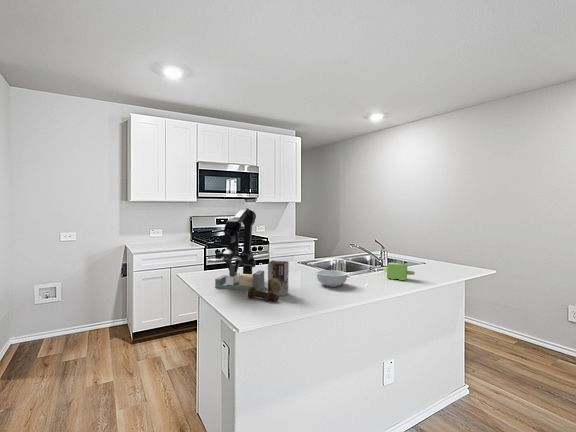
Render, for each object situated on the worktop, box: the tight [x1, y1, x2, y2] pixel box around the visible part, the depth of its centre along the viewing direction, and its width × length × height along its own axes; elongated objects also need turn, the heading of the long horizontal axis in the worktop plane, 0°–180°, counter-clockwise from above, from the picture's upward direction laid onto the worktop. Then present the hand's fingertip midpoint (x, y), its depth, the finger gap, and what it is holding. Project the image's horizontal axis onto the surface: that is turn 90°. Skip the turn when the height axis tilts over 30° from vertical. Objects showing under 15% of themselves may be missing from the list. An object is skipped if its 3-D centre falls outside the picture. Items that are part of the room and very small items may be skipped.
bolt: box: [247, 287, 280, 303], centre depth 153 cm, size 6×5×15 cm
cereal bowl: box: [316, 269, 348, 288], centre depth 182 cm, size 17×17×7 cm
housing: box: [239, 273, 253, 287], centre depth 173 cm, size 6×8×5 cm
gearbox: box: [382, 262, 416, 281], centre depth 199 cm, size 18×10×10 cm, turn 62°
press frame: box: [214, 270, 265, 291], centre depth 174 cm, size 10×24×8 cm, turn 76°
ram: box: [226, 263, 241, 285], centre depth 175 cm, size 9×4×10 cm, turn 166°
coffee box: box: [267, 260, 289, 297], centre depth 163 cm, size 9×6×16 cm
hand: (233, 272), depth 175 cm, fingers closed on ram, 3 cm apart
